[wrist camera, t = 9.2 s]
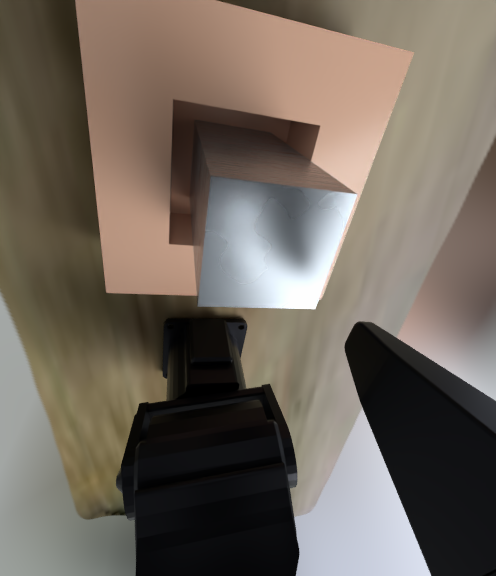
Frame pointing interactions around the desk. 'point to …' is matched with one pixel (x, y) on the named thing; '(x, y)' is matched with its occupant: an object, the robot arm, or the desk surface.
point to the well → (214, 115)
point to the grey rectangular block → (261, 220)
